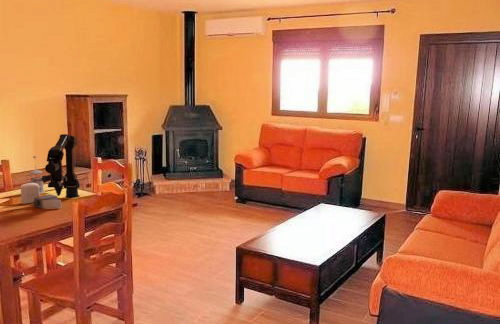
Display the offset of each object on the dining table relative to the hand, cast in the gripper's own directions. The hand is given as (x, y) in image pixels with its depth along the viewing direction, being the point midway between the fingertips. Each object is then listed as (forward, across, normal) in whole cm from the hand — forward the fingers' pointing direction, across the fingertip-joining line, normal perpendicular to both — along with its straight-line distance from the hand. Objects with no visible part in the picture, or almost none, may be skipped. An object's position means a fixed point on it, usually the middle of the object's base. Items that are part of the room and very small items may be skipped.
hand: (58, 195), depth 256 cm
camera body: (+7, -4, -9) cm, 12 cm away
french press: (+8, -39, -25) cm, 47 cm away
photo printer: (+8, -12, -20) cm, 25 cm away
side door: (+7, +3, -4) cm, 8 cm away
